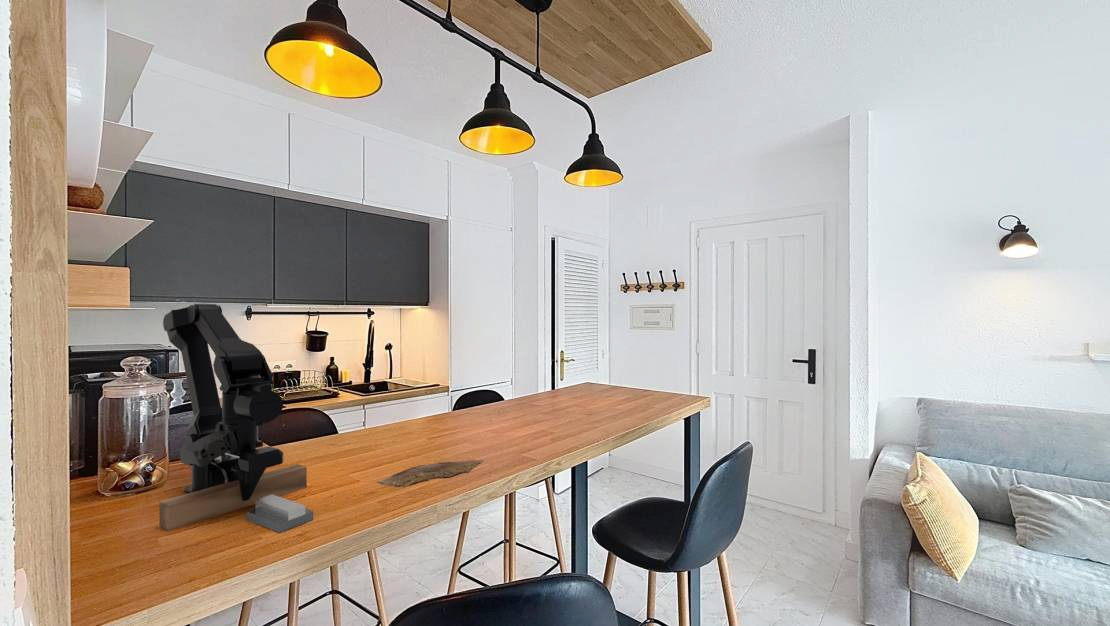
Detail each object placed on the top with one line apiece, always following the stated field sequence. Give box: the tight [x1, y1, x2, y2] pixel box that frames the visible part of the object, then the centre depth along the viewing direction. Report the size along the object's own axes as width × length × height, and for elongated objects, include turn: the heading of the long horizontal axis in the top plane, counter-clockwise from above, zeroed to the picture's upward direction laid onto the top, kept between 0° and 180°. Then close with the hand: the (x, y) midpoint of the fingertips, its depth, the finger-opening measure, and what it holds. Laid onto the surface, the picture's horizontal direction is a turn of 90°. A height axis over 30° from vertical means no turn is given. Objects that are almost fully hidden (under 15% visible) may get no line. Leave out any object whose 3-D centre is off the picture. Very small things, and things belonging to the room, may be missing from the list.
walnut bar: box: [159, 463, 308, 532], centre depth 93 cm, size 4×24×4 cm, turn 148°
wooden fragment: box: [376, 459, 484, 488], centre depth 112 cm, size 26×11×1 cm, turn 126°
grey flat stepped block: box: [246, 494, 314, 534], centre depth 86 cm, size 10×6×3 cm, turn 60°
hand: (240, 498), depth 93 cm, fingers closed on walnut bar, 4 cm apart
